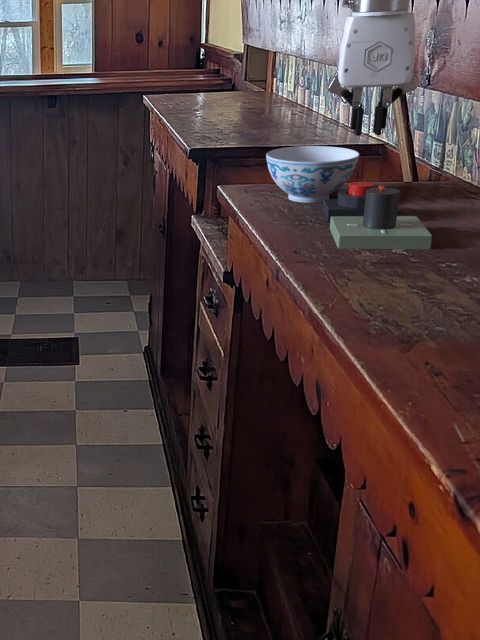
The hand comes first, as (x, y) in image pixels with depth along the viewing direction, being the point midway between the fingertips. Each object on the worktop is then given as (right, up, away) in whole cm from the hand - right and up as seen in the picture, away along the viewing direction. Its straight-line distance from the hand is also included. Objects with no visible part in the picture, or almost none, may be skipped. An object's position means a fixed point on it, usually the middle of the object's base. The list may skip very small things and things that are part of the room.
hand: (367, 133), depth 132 cm
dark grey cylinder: (-1, -15, -7) cm, 17 cm away
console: (-1, -17, -6) cm, 18 cm away
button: (+1, -9, +4) cm, 10 cm away
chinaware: (-2, -7, +19) cm, 20 cm away
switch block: (+1, -12, +5) cm, 13 cm away
